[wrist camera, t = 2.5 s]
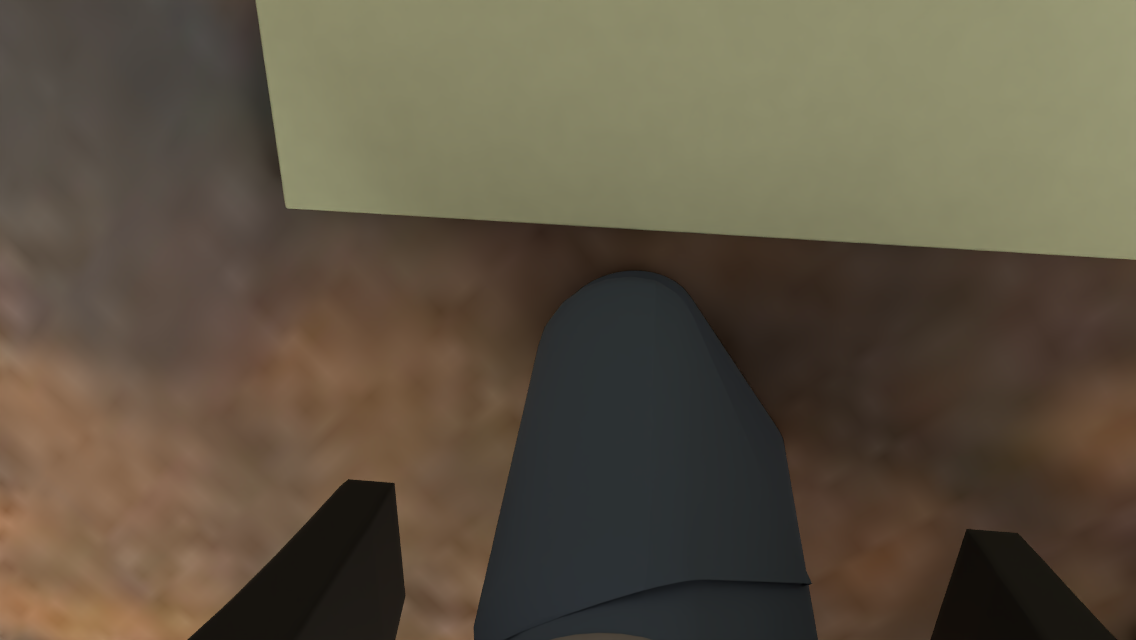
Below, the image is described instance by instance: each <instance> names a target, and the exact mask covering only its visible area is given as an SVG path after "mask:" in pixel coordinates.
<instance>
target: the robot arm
mask: <svg viewBox="0 0 1136 640" xmlns="http://www.w3.org/2000/svg"><path fill="white" fill-rule="evenodd" d="M404 599H405V588H404V577H403V567H402V557H401V546H400V536H399V526H398V515H397V505H396V494H395V484H394V483H387V482H374V481H362V480H349V479H348V480H347V481H346V482H345V483H343V484H342V485H341V486H340V487H339V488H338V489H337V490H336V491H335V492H334V493H333V495H332V496H331V497H330V498H329V499H328V500H327V501H326V502H325V503H324V504H323V505H322V507H321V508H320V509H319V510H318V511H317V512H316V513H315V514H314V515H313V516H312V517H311V518H310V520H309V521H308V522H307V523H306V524H305V525H304V526H303V527H302V528H301V529H300V530H299V531H298V532H297V533H296V535H295V536H294V537H293V538H292V539H291V540H290V541H289V542H288V543H287V544H286V545H285V546H284V547H283V548H282V549H281V550H280V551H279V552H278V553H277V554H276V556H275V557H274V558H273V559H272V560H271V561H270V562H269V563H268V564H267V565H266V566H265V567H264V568H263V569H262V570H261V571H260V572H259V573H258V574H257V575H256V576H255V577H254V578H253V579H252V580H251V581H250V582H248V583H247V584H246V585H245V586H244V587H243V588H242V589H241V590H240V591H239V592H238V593H237V594H236V595H235V596H234V597H233V598H232V599H231V600H230V601H229V602H228V603H227V604H226V605H225V606H224V607H223V608H222V609H221V610H220V611H218V612H217V613H216V614H215V615H214V616H213V617H212V618H211V619H210V620H209V621H207V622H206V623H205V624H204V625H203V626H202V627H201V628H200V629H199V630H198V631H196V632H195V633H194V634H193V635H192V636H191V637H190V638H189V639H188V640H395V638H396V634H397V630H398V625H399V621H400V617H401V612H402V608H403V604H404ZM931 640H1117V639H1116V638H1115V637H1114V636H1113V635H1112V634H1111V633H1110V632H1109V631H1108V630H1107V629H1106V628H1105V627H1104V626H1103V625H1102V624H1101V623H1100V621H1099V620H1098V619H1097V618H1096V617H1095V616H1094V615H1093V614H1092V613H1091V612H1090V611H1089V610H1088V608H1087V607H1086V606H1085V605H1084V604H1083V603H1082V602H1081V601H1080V600H1079V599H1078V598H1077V597H1076V596H1075V594H1074V593H1073V592H1072V591H1071V590H1070V589H1069V588H1068V587H1067V586H1066V585H1065V584H1064V582H1063V581H1062V580H1061V579H1060V578H1059V577H1058V576H1057V575H1056V574H1055V573H1054V572H1053V570H1052V569H1051V568H1050V567H1049V566H1048V565H1047V564H1046V563H1045V562H1044V561H1043V560H1042V559H1041V557H1040V556H1039V555H1038V554H1037V553H1036V552H1035V551H1034V550H1033V549H1032V548H1031V547H1030V546H1029V545H1028V544H1027V542H1026V541H1025V540H1024V539H1023V538H1022V537H1021V536H1020V535H1019V534H1018V533H1009V532H996V531H984V530H971V529H967V530H966V533H965V536H964V539H963V542H962V545H961V548H960V551H959V554H958V557H957V560H956V563H955V566H954V569H953V573H952V576H951V579H950V582H949V585H948V588H947V591H946V594H945V597H944V600H943V603H942V606H941V609H940V612H939V615H938V618H937V621H936V624H935V628H934V631H933V634H932V637H931Z"/></svg>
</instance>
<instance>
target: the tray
mask: <svg viewBox="0 0 1136 640" xmlns="http://www.w3.org/2000/svg"><path fill="white" fill-rule="evenodd" d="M256 7H257V14H258V21H259V28H260V35H261V41H262V48H263V55H264V62H265V69H266V76H267V83H268V89H269V96H270V103H271V110H272V117H273V124H274V131H275V138H276V144H277V151H278V158H279V165H280V172H281V179H282V186H283V193H284V199H285V206H286V208H290V209H307V210H323V211H340V212H356V213H373V214H389V215H406V216H422V217H439V218H455V219H472V220H488V221H505V222H521V223H538V224H554V225H571V226H587V227H604V228H620V229H637V230H653V231H670V232H686V233H703V234H719V235H736V236H752V237H769V238H785V239H802V240H818V241H835V242H851V243H868V244H884V245H901V246H917V247H934V248H950V249H967V250H983V251H1000V252H1016V253H1033V254H1049V255H1066V256H1082V257H1099V258H1115V259H1132V260H1136V0H256Z"/></svg>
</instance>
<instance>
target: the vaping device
mask: <svg viewBox="0 0 1136 640" xmlns="http://www.w3.org/2000/svg"><path fill="white" fill-rule="evenodd" d="M810 584H812V583H811V581H810V578H809V576H808V574H807V572H806V568H805V562H804V556H803V550H802V544H801V539H800V533H799V527H798V521H797V516H796V510H795V504H794V498H793V492H792V487H791V481H790V475H789V469H788V464H787V458H786V452H785V446H784V442H783V438H782V436H781V434H780V432H779V430H778V428H777V427H776V425H775V424H774V422H773V421H772V419H771V418H770V416H769V415H768V413H767V412H766V410H765V409H764V407H763V406H762V404H761V403H760V401H759V400H758V398H757V397H756V395H755V394H754V392H753V391H752V389H751V388H750V386H749V385H748V383H747V382H746V380H745V379H744V377H743V375H742V374H741V372H740V371H739V369H738V368H737V366H736V365H735V363H734V362H733V360H732V359H731V357H730V356H729V354H728V353H727V351H726V350H725V348H724V347H723V345H722V344H721V342H720V341H719V339H718V338H717V336H716V335H715V333H714V332H713V330H712V329H711V327H710V326H709V324H708V323H707V321H706V320H705V318H704V317H703V315H702V313H701V312H700V310H699V309H698V307H697V306H696V304H695V303H694V301H693V300H692V298H691V297H690V296H689V294H688V293H687V292H686V291H685V289H684V288H683V287H681V286H680V285H679V284H678V283H676V282H675V281H673V280H671V279H669V278H667V277H665V276H663V275H659V274H656V273H653V272H646V271H623V272H616V273H613V274H609V275H606V276H603V277H601V278H598V279H596V280H594V281H592V282H590V283H589V284H587V285H585V286H584V287H582V288H581V289H580V290H579V291H578V292H576V293H575V294H574V295H572V296H571V297H570V298H568V299H567V300H565V301H564V302H563V303H562V304H561V306H560V307H559V308H558V310H557V311H556V312H555V314H554V315H553V316H552V317H551V319H550V320H549V322H548V323H547V325H546V326H545V328H544V331H543V334H542V337H541V340H540V343H539V346H538V350H537V354H536V358H535V363H534V367H533V371H532V376H531V380H530V384H529V389H528V393H527V397H526V402H525V406H524V410H523V415H522V419H521V423H520V428H519V432H518V437H517V441H516V445H515V450H514V454H513V458H512V463H511V467H510V471H509V476H508V480H507V484H506V489H505V493H504V497H503V502H502V506H501V510H500V515H499V519H498V523H497V528H496V532H495V537H494V541H493V545H492V550H491V554H490V558H489V563H488V567H487V571H486V576H485V580H484V584H483V589H482V593H481V597H480V602H479V606H478V610H477V615H476V619H475V624H474V640H818V637H817V631H816V625H815V620H814V614H813V608H812V602H811V596H810V591H809V585H810Z"/></svg>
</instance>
